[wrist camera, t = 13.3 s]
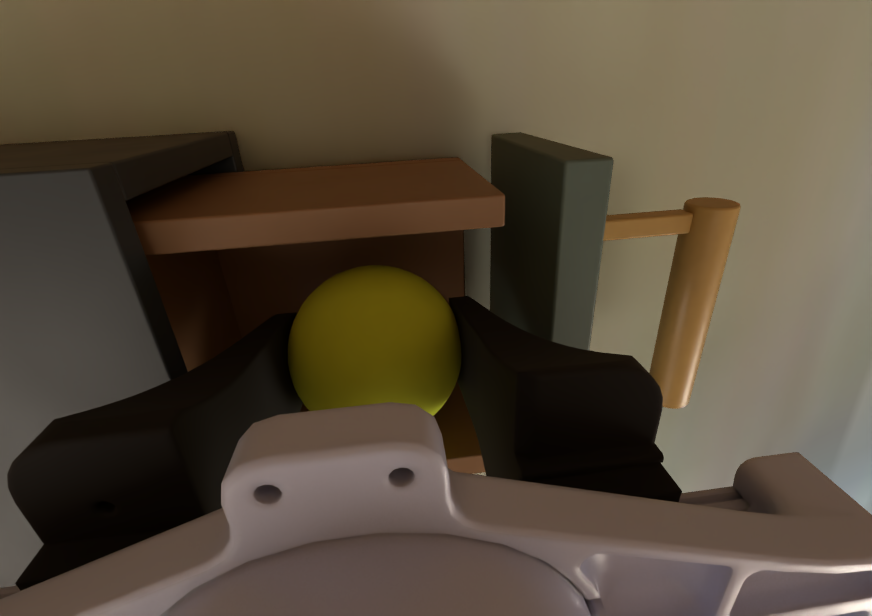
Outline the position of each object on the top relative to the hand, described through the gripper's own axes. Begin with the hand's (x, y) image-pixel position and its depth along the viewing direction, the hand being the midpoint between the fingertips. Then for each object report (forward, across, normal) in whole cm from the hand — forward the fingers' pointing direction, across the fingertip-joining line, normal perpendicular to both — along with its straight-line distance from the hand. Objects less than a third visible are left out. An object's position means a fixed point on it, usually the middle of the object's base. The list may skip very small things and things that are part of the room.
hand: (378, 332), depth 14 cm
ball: (+1, 0, 0) cm, 1 cm away
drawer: (+5, -2, 0) cm, 6 cm away
